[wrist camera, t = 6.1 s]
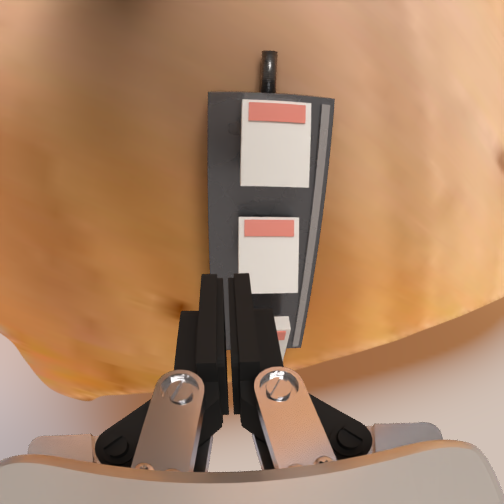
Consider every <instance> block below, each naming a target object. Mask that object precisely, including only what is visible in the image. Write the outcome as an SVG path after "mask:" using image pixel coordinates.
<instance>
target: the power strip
mask: <svg viewBox="0 0 504 504" xmlns="http://www.w3.org/2000/svg"><path fill="white" fill-rule="evenodd" d="M276 72H277V52H276V51H262V65H261V89H260V92H208V224H209V259H210V274H217V278H223V288H224V309H225V329H226V350H231V346H230V322H229V295H228V278H234V273H238V217H299V263H298V293H264V294H252V300H253V308H254V309H270V308H272V310H273V314H274V317H278V316H289V321H290V327H291V331H290V335H289V339H288V343H287V346H286V348H301V344H302V339H303V334H304V329H305V323H306V318H307V312H308V306H309V301H310V295H311V289H312V283H313V277H314V271H315V264H316V258H317V251H318V244H319V238H320V230H321V223H322V216H323V208H324V200H325V192H326V184H327V175H328V166H329V157H330V147H331V137H332V126H333V114H334V101H335V99H332V98H325V97H317V96H307V95H295V94H282V93H276ZM242 99H250V100H274V101H289V102H302V103H311V142H310V170H309V188H304V187H272V186H241V185H240V153H241V107H242Z"/></svg>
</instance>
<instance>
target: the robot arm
mask: <svg viewBox="0 0 504 504" xmlns="http://www.w3.org/2000/svg"><path fill="white" fill-rule="evenodd" d="M228 295H229V322H230V346H231V368H232V387H233V405H234V414H240V417H241V423H242V426H243V427H244V428H245V429H247V430H248V431H249V432H251V433H252V437H253V440H254V444H255V448H256V451H257V455H258V458H259V462H260V465H261V469H262V470H259V471H244V472H208V467H209V461H210V454H211V448H212V441H213V434H214V433H215V432H217V430H219V429H220V428H221V427H222V423H223V415H228V414H229V407H228V384H227V357H226V329H225V309H224V288H223V278H217V274H202V276H201V289H200V302H199V311H181V315H180V322H179V330H178V338H177V347H176V356H175V365H174V371H170V372H168V373H166V374H164V375H163V376H162V377H161V378H160V379H159V380H158V382H157V384H156V386H155V389H154V392H153V395H152V398H151V399H150V400H149V401H147V402H146V403H145V404H143V405H142V406H140V407H139V408H138V409H136V410H135V411H133V412H132V413H130V414H129V415H128V416H126V417H125V418H123V419H122V420H120V421H119V422H117V423H116V424H114V425H113V426H111V427H110V428H108V429H107V430H105V431H104V432H103V433H102V434H101V435H99V436H93V435H92V434H78V435H55V436H40V437H37V438H35V439H34V440H32V442H31V443H30V445H29V448H28V454H27V455H18V456H12V457H9V458H6V459H3V460H1V461H0V504H504V494H503V491H502V489H501V486H500V484H499V481H498V479H497V476H496V474H495V472H494V470H493V468H492V467H491V465H490V463H489V461H488V460H487V458H486V456H485V455H484V454H483V453H482V451H481V450H480V449H479V448H477V447H476V446H474V445H473V444H470V443H467V442H463V441H457V440H443V438H442V434H441V432H440V430H439V429H438V428H437V427H436V426H435V425H433V424H431V423H427V422H419V423H395V424H394V423H393V424H374V425H373V426H365V425H363V424H362V423H361V422H359V421H357V420H355V419H353V418H351V417H349V416H348V415H346V414H344V413H342V412H340V411H339V410H337V409H335V408H333V407H331V406H330V405H328V404H326V403H324V402H323V401H321V400H319V399H318V398H316V397H314V396H312V395H310V394H309V393H308V391H307V389H306V387H305V384H304V382H303V380H302V378H301V377H300V375H299V374H297V373H296V372H295V371H294V370H291V369H289V368H286V367H284V366H283V361H282V356H281V351H280V345H279V340H278V335H277V330H276V325H275V319H274V314H273V310H272V308H270V309H254V308H253V300H252V292H251V284H250V276H249V273H234V278H228Z"/></svg>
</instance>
